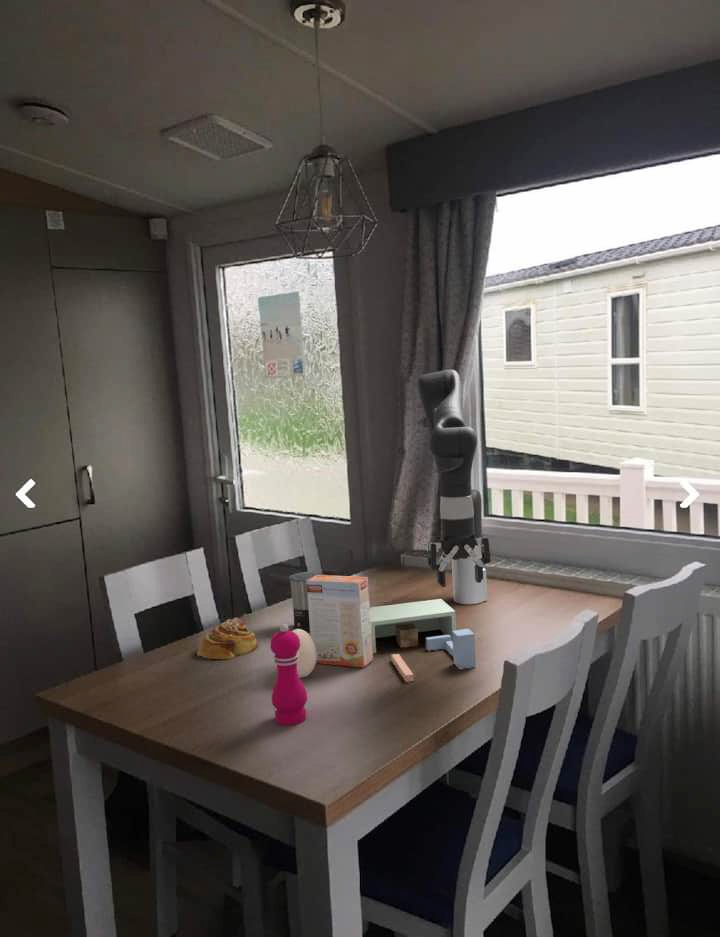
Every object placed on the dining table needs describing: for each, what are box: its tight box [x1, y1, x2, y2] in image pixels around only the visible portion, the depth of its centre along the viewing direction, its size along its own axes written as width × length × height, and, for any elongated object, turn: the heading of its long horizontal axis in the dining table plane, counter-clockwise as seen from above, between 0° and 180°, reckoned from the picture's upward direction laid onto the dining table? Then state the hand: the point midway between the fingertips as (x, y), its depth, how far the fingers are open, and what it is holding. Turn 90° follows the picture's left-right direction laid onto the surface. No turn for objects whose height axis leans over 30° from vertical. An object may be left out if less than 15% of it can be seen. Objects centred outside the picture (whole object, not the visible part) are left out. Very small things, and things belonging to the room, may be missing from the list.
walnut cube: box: [395, 623, 419, 649], centre depth 203 cm, size 4×4×4 cm
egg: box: [291, 629, 317, 679], centre depth 185 cm, size 8×8×11 cm
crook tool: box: [425, 628, 477, 670], centre depth 191 cm, size 16×7×8 cm, turn 12°
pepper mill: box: [270, 623, 308, 726], centre depth 162 cm, size 7×7×20 cm
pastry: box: [196, 617, 259, 660], centre depth 207 cm, size 13×15×8 cm
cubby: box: [370, 598, 457, 654], centre depth 206 cm, size 22×12×8 cm, turn 102°
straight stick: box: [390, 653, 415, 683], centre depth 185 cm, size 2×14×2 cm, turn 11°
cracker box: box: [306, 574, 374, 669], centre depth 193 cm, size 14×6×21 cm, turn 65°
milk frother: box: [288, 571, 323, 633], centre depth 223 cm, size 14×16×15 cm
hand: (460, 584), depth 184 cm, fingers open, 8 cm apart
